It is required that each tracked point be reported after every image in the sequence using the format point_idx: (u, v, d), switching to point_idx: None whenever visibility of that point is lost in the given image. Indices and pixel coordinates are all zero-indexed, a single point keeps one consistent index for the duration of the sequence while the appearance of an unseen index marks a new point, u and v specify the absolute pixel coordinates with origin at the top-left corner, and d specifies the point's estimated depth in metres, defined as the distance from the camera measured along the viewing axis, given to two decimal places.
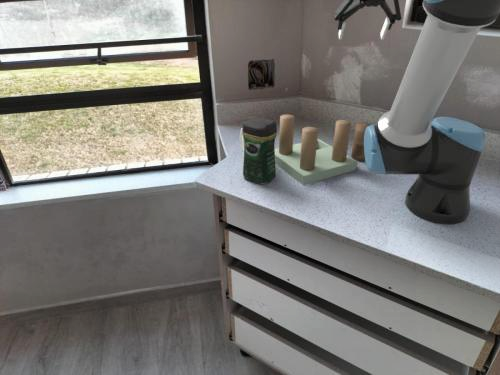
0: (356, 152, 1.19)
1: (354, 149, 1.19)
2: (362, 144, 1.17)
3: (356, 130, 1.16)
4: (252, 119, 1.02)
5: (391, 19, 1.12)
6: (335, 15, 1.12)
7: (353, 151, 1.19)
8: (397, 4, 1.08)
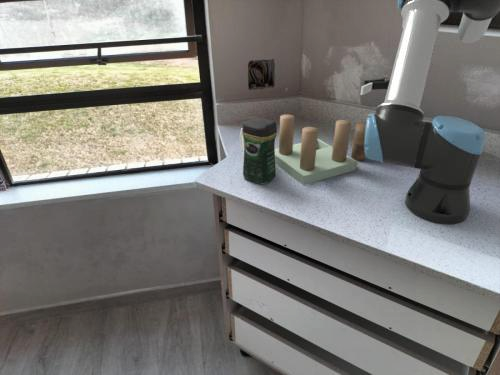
0: (356, 152, 1.19)
1: (354, 149, 1.19)
2: (362, 144, 1.17)
3: (356, 130, 1.16)
4: (252, 119, 1.02)
5: None
6: None
7: (353, 151, 1.19)
8: None
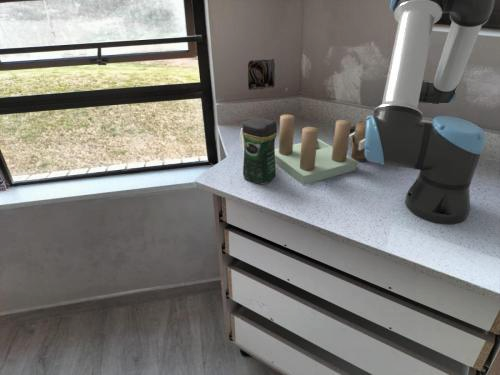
0: (356, 152, 1.19)
1: (354, 149, 1.19)
2: None
3: (356, 130, 1.16)
4: (252, 119, 1.02)
5: None
6: None
7: (353, 151, 1.19)
8: None
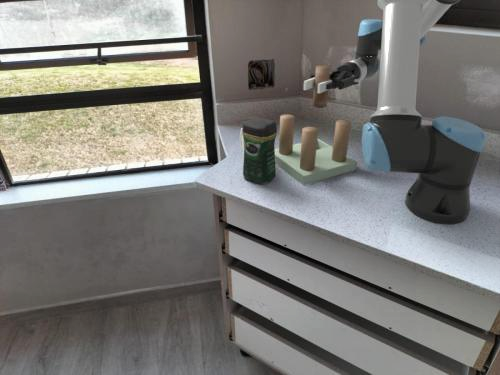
0: (317, 97, 1.14)
1: (315, 94, 1.14)
2: None
3: (316, 73, 1.11)
4: (252, 119, 1.02)
5: None
6: None
7: (314, 97, 1.15)
8: (351, 77, 1.15)
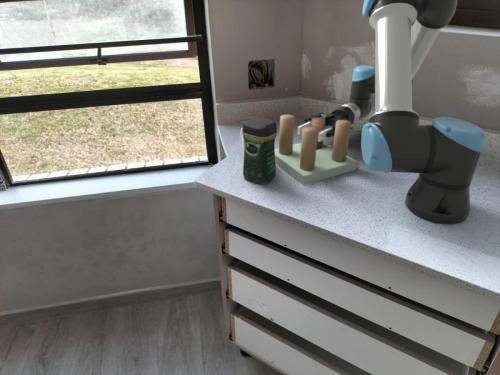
0: None
1: None
2: None
3: (311, 125, 1.20)
4: (252, 119, 1.02)
5: None
6: None
7: None
8: None
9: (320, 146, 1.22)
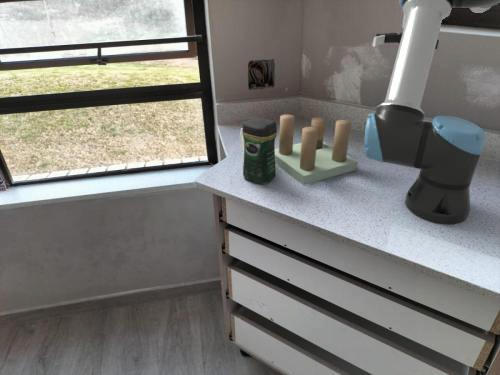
0: None
1: None
2: (318, 139, 1.20)
3: (311, 125, 1.20)
4: (252, 119, 1.02)
5: None
6: None
7: None
8: None
9: (320, 146, 1.22)
